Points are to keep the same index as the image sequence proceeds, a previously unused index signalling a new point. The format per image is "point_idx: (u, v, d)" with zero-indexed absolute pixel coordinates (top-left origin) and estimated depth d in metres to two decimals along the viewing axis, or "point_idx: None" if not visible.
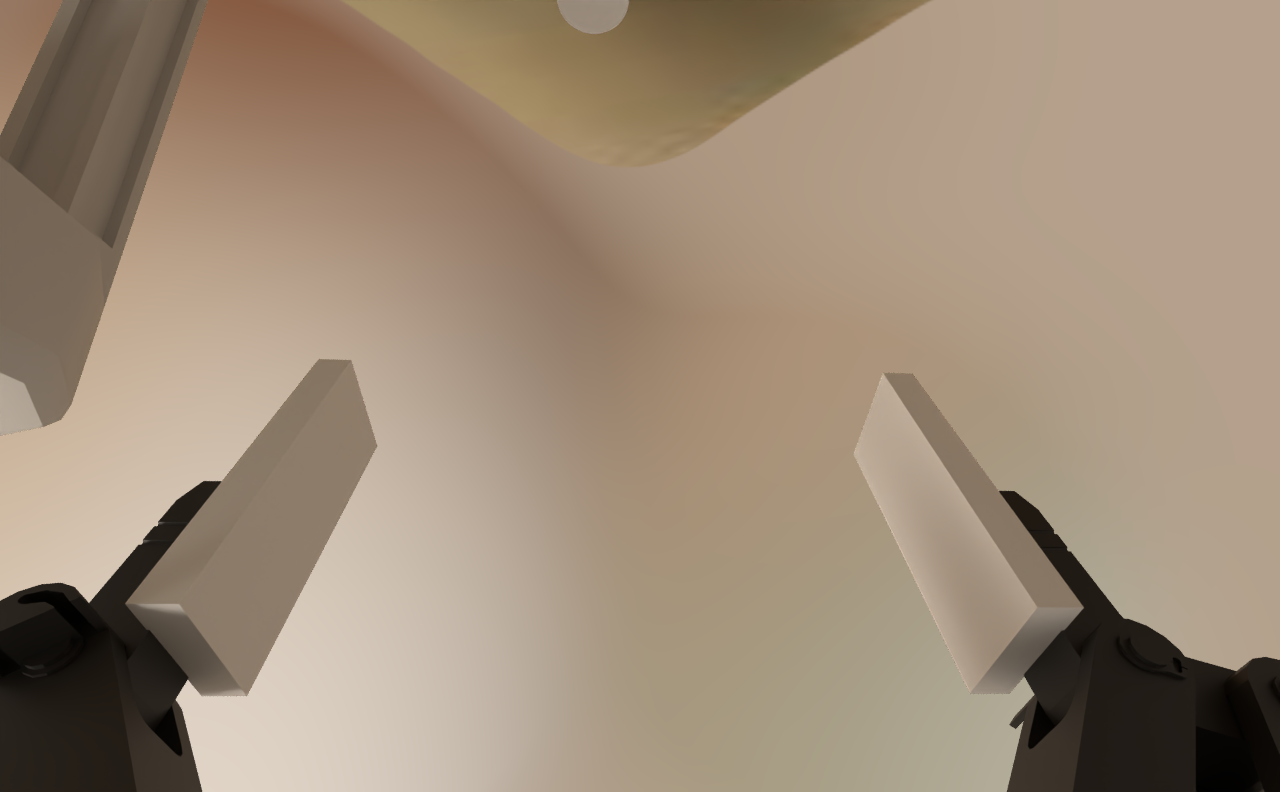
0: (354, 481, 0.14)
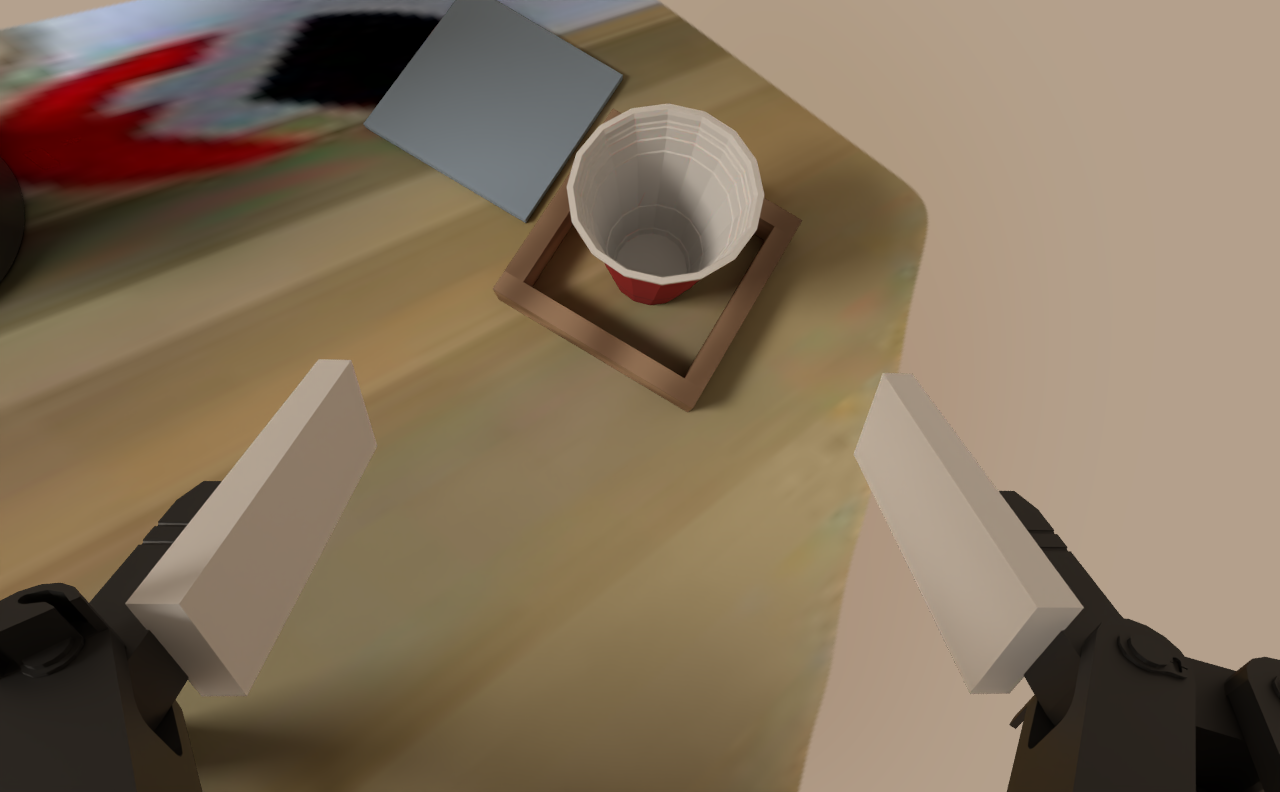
0: (354, 481, 0.14)
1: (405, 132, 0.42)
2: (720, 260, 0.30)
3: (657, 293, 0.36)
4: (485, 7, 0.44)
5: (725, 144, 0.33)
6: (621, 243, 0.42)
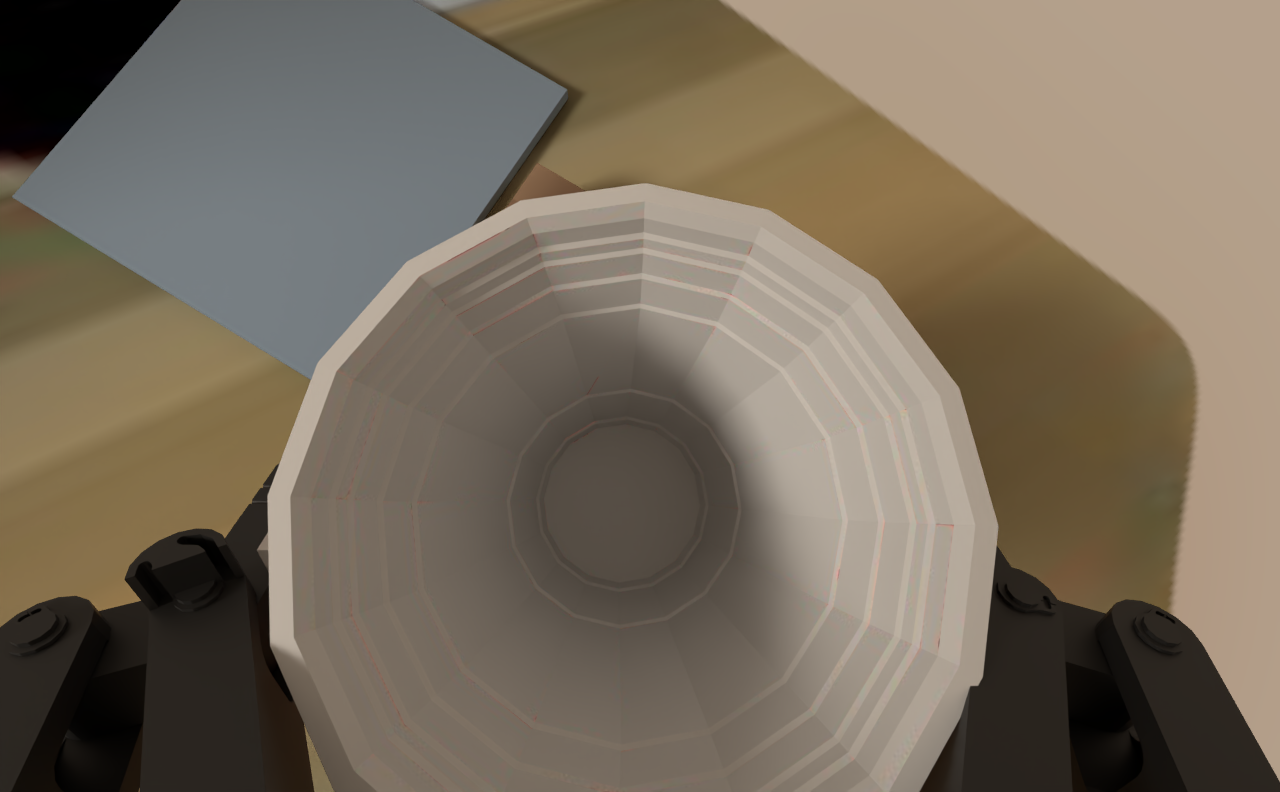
0: None
1: (101, 213, 0.20)
2: None
3: None
4: None
5: (833, 311, 0.10)
6: (557, 453, 0.19)
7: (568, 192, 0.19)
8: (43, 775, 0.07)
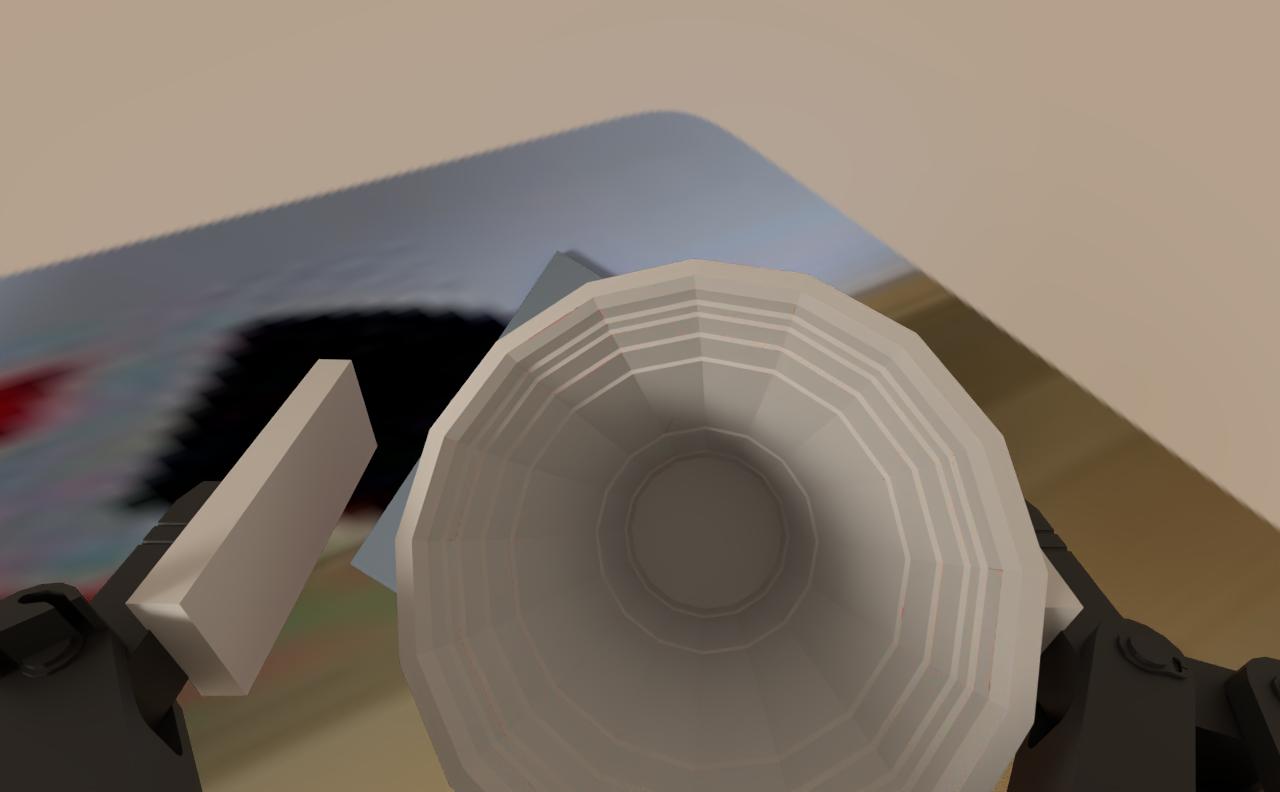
0: (354, 481, 0.14)
1: None
2: None
3: None
4: None
5: (878, 361, 0.11)
6: (642, 486, 0.21)
7: None
8: None
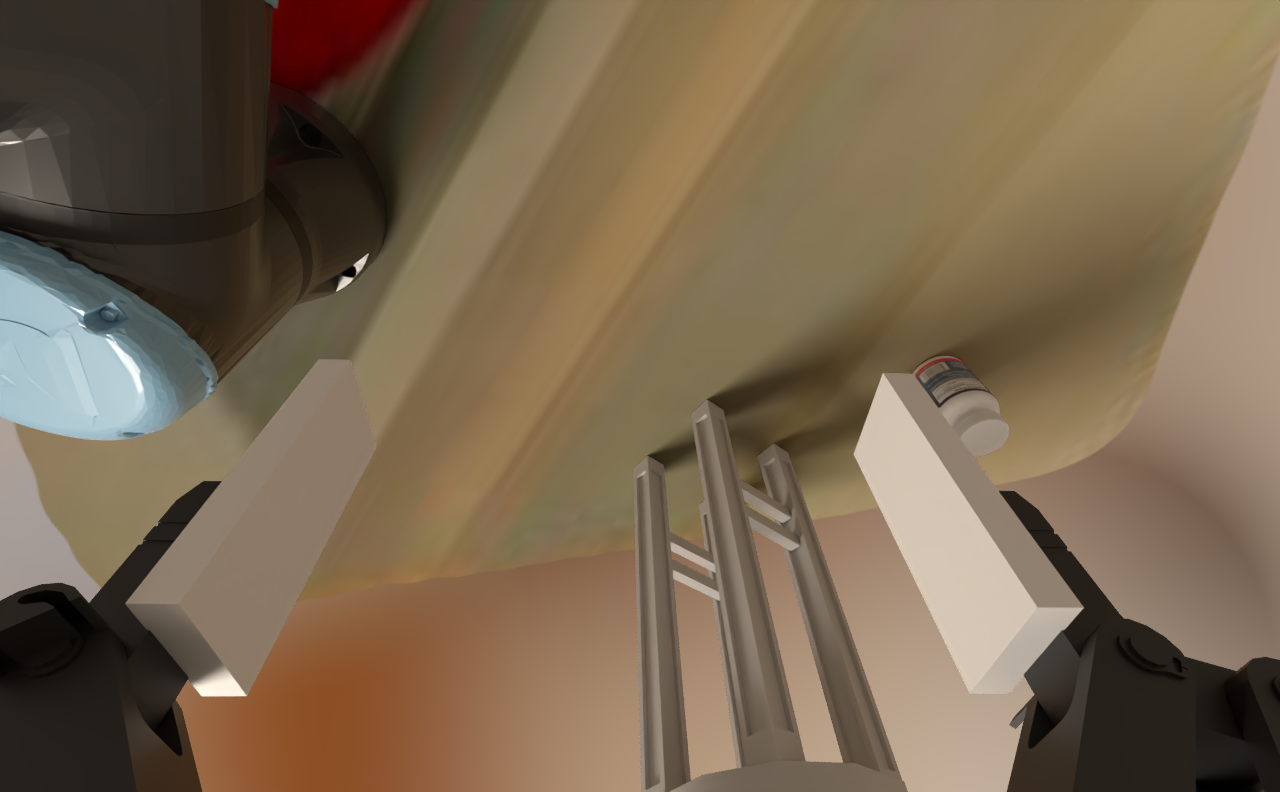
0: (354, 481, 0.14)
1: None
2: None
3: None
4: None
5: None
6: None
7: None
8: None
